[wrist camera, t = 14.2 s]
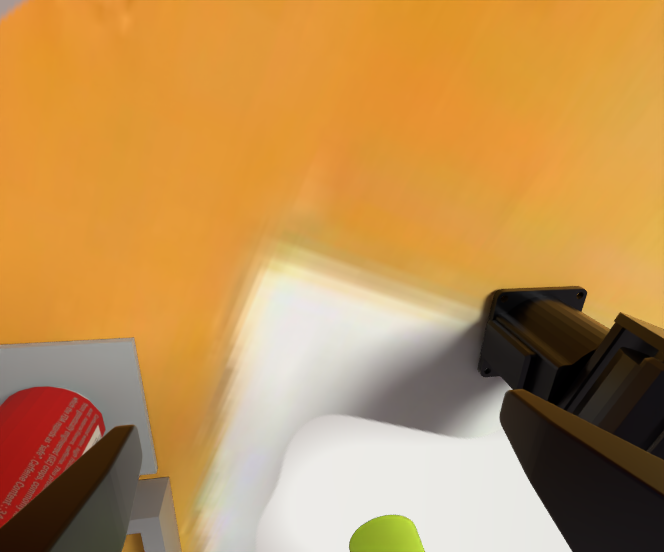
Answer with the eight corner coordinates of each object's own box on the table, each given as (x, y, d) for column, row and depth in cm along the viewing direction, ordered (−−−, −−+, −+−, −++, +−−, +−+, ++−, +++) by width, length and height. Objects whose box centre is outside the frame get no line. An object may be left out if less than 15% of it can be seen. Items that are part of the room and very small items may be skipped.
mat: (134, 337, 21) (131, 341, 21) (157, 468, 25) (156, 473, 25) (-74, 348, 20) (-80, 352, 19) (-15, 486, 23) (-20, 492, 23)
